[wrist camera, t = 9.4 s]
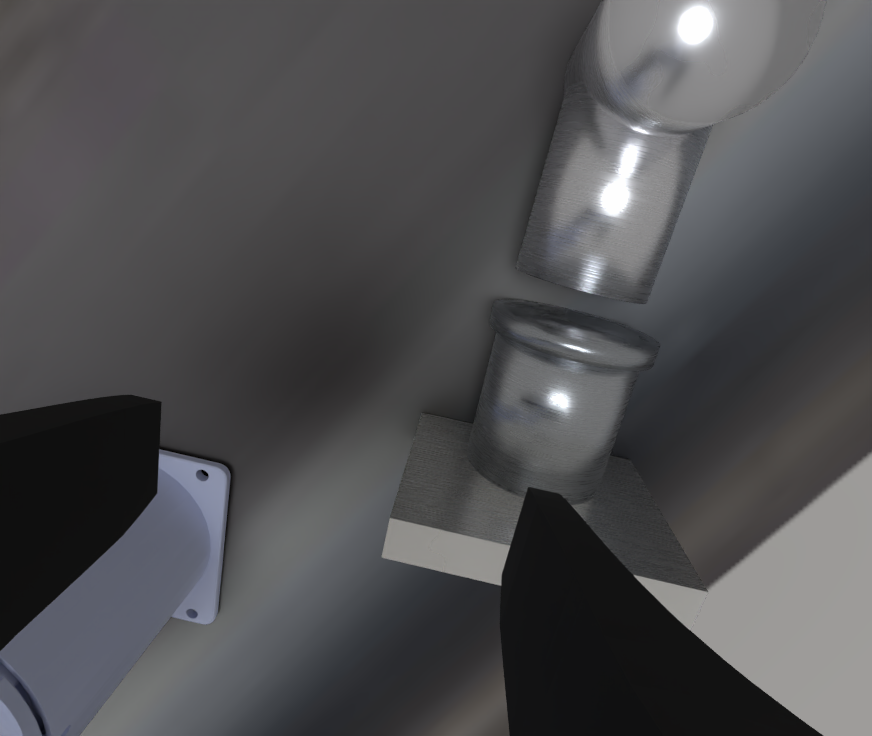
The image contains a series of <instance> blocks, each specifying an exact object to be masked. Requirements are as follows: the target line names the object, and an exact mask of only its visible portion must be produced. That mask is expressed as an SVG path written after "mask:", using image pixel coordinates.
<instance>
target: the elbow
mask: <svg viewBox="0 0 872 736" xmlns="http://www.w3.org/2000/svg"><path fill="white" fill-rule="evenodd" d="M825 6H826V0H602V1H601V3H600V5H599V7H598V8H597V10H596V12H595V14H594V15H593V17H592V19H591V21H590V22H589V24H588V26H587V28H586V30H585V31H584V33H583V35H582V37H581V38H580V40H579V42H578V44H577V45H576V47H575V49H574V51H573V53H572V55H571V57H570V60H569V63H568V65H567V69H566V73H565V78H564V99H563V103H562V106H561V110H560V113H559V117H558V120H557V124H556V127H555V131H554V134H553V138H552V141H551V145H550V148H549V152H548V155H547V159H546V162H545V166H544V169H543V173H542V176H541V180H540V183H539V187H538V190H537V194H536V197H535V201H534V204H533V208H532V211H531V215H530V218H529V222H528V225H527V229H526V232H525V236H524V240H523V243H522V247H521V250H520V254H519V257H518V261H517V264H516V269H518V270H520V271H522V272H524V273H526V274H529V275H531V276H534V277H537V278H540V279H543V280H546V281H549V282H552V283H555V284H558V285H562V286H565V287H569V288H572V289H576V290H579V291H583V292H587V293H591V294H595V295H599V296H603V297H607V298H611V299H616V300H621V301H626V302H632V303H639V304H646V303H647V301H648V298H649V295H650V293H651V290H652V287H653V285H654V282H655V279H656V277H657V274H658V271H659V268H660V266H661V263H662V260H663V258H664V255H665V252H666V250H667V247H668V244H669V242H670V239H671V236H672V234H673V231H674V228H675V226H676V223H677V220H678V217H679V215H680V212H681V209H682V207H683V204H684V201H685V199H686V196H687V193H688V191H689V188H690V185H691V183H692V180H693V177H694V175H695V172H696V169H697V166H698V164H699V161H700V158H701V156H702V153H703V150H704V148H705V145H706V142H707V140H708V137H709V134H710V132H711V129H712V126H713V124H716V123H719V122H721V121H724V120H727V119H729V118H732V117H735V116H737V115H740V114H743V113H745V112H747V111H748V110H750V109H752V108H754V107H756V106H758V105H759V104H761V103H762V102H764V101H765V100H767V99H768V98H769V97H771V96H772V95H773V94H774V93H775V92H776V91H778V90H779V89H780V88H781V87H782V86H783V85H784V84H785V83H786V82H787V81H788V80H789V79H790V78H791V76H792V75H793V74H794V73H795V71H796V70H797V69H798V67H799V66H800V65H801V63H802V62H803V60H804V59H805V57H806V55H807V54H808V52H809V50H810V49H811V46H812V44H813V42H814V40H815V38H816V36H817V34H818V31H819V28H820V25H821V22H822V19H823V15H824V11H825Z"/></svg>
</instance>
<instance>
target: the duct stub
mask: <svg viewBox="0 0 872 736" xmlns="http://www.w3.org/2000/svg"><path fill="white" fill-rule="evenodd" d="M489 325H490V326H491V328H493V329H494V330H495V331H496V336H495V340H494V344H493V348H492V352H491V355H490V359H489V363H488V367H487V371H486V375H485V379H484V383H483V387H482V391H481V395H480V399H479V403H478V407H477V411H476V415H475V419H474V423H473V424H471V423H467V422H462V421H458V420H454V419H449V418H445V417H441V416H436V415H432V414H427V413H423V412H422V414H421V417H420V421H419V424H418V427H417V431H416V434H415V437H414V440H413V444H412V447H411V450H410V453H409V457H408V460H407V463H406V467H405V470H404V473H403V476H402V480H401V483H400V486H399V490H398V493H397V496H396V499H395V503H394V506H393V509H392V513H391V516H390V520H389V524H388V529H387V534H386V539H385V544H384V548H383V553H382V558H386V559H390V560H394V561H399V562H403V563H407V564H411V565H416V566H420V567H424V568H428V569H433V570H437V571H441V572H445V573H450V574H454V575H458V576H462V577H467V578H471V579H475V580H479V581H484V582H488V583H492V584H496V585H501V579H502V572H503V568H504V565H505V562H506V558H507V555H508V552H509V548H510V545H511V542H512V538H513V535H514V532H515V528H516V525H517V522H518V518H519V515H520V512H521V508H522V505H523V502H524V498H525V495H526V492H527V488H528V487H533V488H537V489H541V490H546V491H550V492H554V493H559V494H561V495H562V496H563V497H564V498H565V499H566V500H567V501H568V502H569V504H570V505H571V506H572V507H573V508H574V509H575V510H576V511H577V513H578V514H579V515H580V516H581V517H582V518H583V520H584V521H585V522H586V523H587V524H588V525H589V527H590V528H591V529H592V530H593V531H594V532H595V533H596V535H597V536H598V537H599V538H600V539H601V540H602V541H603V543H604V544H605V545H606V546H607V547H608V548H609V549H610V550H611V552H612V553H613V554H614V555H615V556H616V557H617V558H618V559H619V560H620V562H621V563H622V564H623V565H624V566H625V567H626V568H627V569H628V570H629V571H630V572H631V573H632V574H633V575H634V576H635V578H636V579H637V580H638V581H639V582H640V583H641V584H642V585H643V586H644V587H645V588H646V589H647V590H648V591H649V592H650V593H651V594H652V595H653V596H654V597H655V598H656V599H657V600H658V601H659V602H660V603H661V604H662V605H663V606H664V607H665V608H666V609H667V610H668V611H669V612H670V613H672V614H673V615H674V616H675V617H676V618H677V619H678V620H679V621H680V622H681V623H682V624H683V625H684V626H686V627H687V628H688V629H689V630H691V629H692V627H693V625H694V622H695V620H696V618H697V616H698V614H699V611H700V610H701V607H702V605H703V603H704V601H705V599H706V596H707V594H708V591H707V589H706V587H705V586H704V584H703V582H702V581H701V579H700V577H699V576H698V574H697V572H696V571H695V569H694V567H693V565H692V564H691V562H690V560H689V559H688V557H687V555H686V554H685V552H684V550H683V549H682V547H681V545H680V543H679V542H678V540H677V538H676V537H675V535H674V533H673V532H672V530H671V528H670V527H669V525H668V523H667V522H666V520H665V518H664V516H663V515H662V513H661V511H660V510H659V508H658V506H657V505H656V503H655V501H654V500H653V498H652V496H651V495H650V493H649V491H648V489H647V488H646V486H645V484H644V483H643V481H642V479H641V478H640V476H639V474H638V473H637V471H636V469H635V467H634V466H633V464H632V462H631V461H630V460H629V459H624V458H620V457H616V456H611V455H610V454H611V451H612V448H613V445H614V442H615V440H616V437H617V434H618V431H619V428H620V425H621V422H622V420H623V417H624V414H625V411H626V408H627V405H628V402H629V400H630V397H631V394H632V391H633V388H634V385H635V382H636V380H637V377H638V374H639V371H643V370H648V369H650V368H652V367H653V365H654V362H655V359H656V356H657V354H658V351H659V348H660V344H659V342H657V341H656V340H655V339H653V338H652V337H650V336H648V335H647V334H644V333H642V332H640V331H638V330H636V329H633V328H631V327H628V326H625V325H623V324H620V323H617V322H614V321H611V320H608V319H605V318H602V317H598V316H595V315H591V314H588V313H584V312H580V311H576V310H572V309H567V308H563V307H558V306H554V305H549V304H544V303H538V302H532V301H524V300H513V299H502V300H497V301H495V302H494V304H493V308H492V312H491V316H490V320H489Z"/></svg>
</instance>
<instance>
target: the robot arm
mask: <svg viewBox="0 0 872 736" xmlns="http://www.w3.org/2000/svg"><path fill="white" fill-rule="evenodd" d="M160 421H161V402H160V401H155V400H151V399H147V398H142V397H138V396H134V395H119V396H109V397H101V398H94V399H88V400H82V401H75V402H70V403H64V404H58V405H53V406H47V407H41V408H36V409H30V410H25V411H19V412H13V413H8V414H2V415H0V736H79V735H80V734H81V733H82V732H83V730H84V729H85V728H86V726H87V725H88V724H89V722H90V721H91V720H92V719H93V717H94V716H95V715H96V713H97V712H98V711H99V710H100V708H101V707H102V706H103V704H104V703H105V702H106V700H107V699H108V698H109V697H110V695H111V694H112V693H113V691H114V690H115V689H116V687H117V686H118V685H119V684H120V682H121V681H122V680H123V678H124V677H125V676H126V674H127V673H128V672H129V671H130V669H131V668H132V667H133V665H134V664H135V663H136V662H137V660H138V659H139V658H140V656H141V655H142V654H143V652H144V651H145V650H146V649H147V647H148V646H149V645H150V643H151V642H152V641H153V639H154V638H155V637H156V636H157V634H158V633H159V632H160V630H161V629H162V628H163V626H164V625H165V624H166V623H167V621H168V620H169V619H170V617H174V618H178V619H183V620H187V621H191V622H195V623H199V624H206V625H207V624H211V623H212V622H213V621H214V619H215V618H216V616H217V614H218V606H219V595H220V585H221V574H222V563H223V553H224V542H225V531H226V521H227V510H228V499H229V489H230V478H231V476H230V471H229V470H228V468H227V467H226V466H225V465H223V464H220V463H217V462H212V461H208V460H204V459H199V458H195V457H191V456H187V455H182V454H178V453H174V452H169V451H165V450H161V449H159V444H160ZM201 470H205V471H206V472H207V473H208V476H205V475H203V473H202V472H201ZM193 609H194V610H196V611H194V610H193ZM500 632H501V644H502V656H503V667H504V678H505V689H506V700H507V711H508V721H509V732H510V736H823V735H822V734H820V733H819V732H817V731H816V730H815V729H813V728H812V727H810V726H809V725H807V724H806V723H805V722H803V721H802V720H801V719H799V718H798V717H797V716H795V715H794V714H793V713H791V712H790V711H789V710H788V709H786V708H785V707H784V706H782V705H781V704H780V703H778V702H777V701H775V700H774V699H773V698H772V697H770V696H769V695H768V694H766V693H765V692H764V691H762V690H761V689H760V688H759V687H757V686H756V685H754V684H753V683H752V682H751V681H749V680H748V679H747V678H746V677H744V676H743V675H742V674H741V673H739V672H738V671H737V670H735V668H733V667H732V666H731V665H730V664H728V663H727V662H726V661H725V660H723V659H722V658H721V657H720V656H719V655H718V654H716V653H715V652H714V651H713V650H712V649H711V648H710V647H709V646H707V645H706V644H705V643H704V642H703V641H702V640H701V639H699V638H698V637H697V636H696V635H695V634H694V633H692V632H691V631H690V630H689V629H688V628H687V627H686V626H684V625H683V624H682V623H681V622H680V621H679V620H678V619H677V618H676V617H675V616H674V615H673V614H672V613H670V612H669V611H668V610H667V609H666V608H665V607H664V606H663V605H662V604H661V603H660V602H659V601H658V600H657V599H656V598H655V597H654V596H653V595H652V594H651V593H650V592H649V591H648V590H647V589H646V588H645V587H644V586H643V585H642V584H641V583H640V582H639V581H638V580H637V579H636V578H635V576H634V575H633V574H632V573H631V572H630V571H629V570H628V569H627V568H626V567H625V566H624V565H623V564H622V563H621V562H620V560H619V559H618V558H617V557H616V556H615V555H614V554H613V553H612V552H611V550H610V549H609V548H608V547H607V546H606V545H605V544H604V543H603V541H602V540H601V539H600V538H599V537H598V536H597V535H596V533H595V532H594V531H593V530H592V529H591V528H590V527H589V525H588V524H587V523H586V522H585V521H584V520H583V518H582V517H581V516H580V515H579V514H578V513H577V511H576V510H575V509H574V508H573V507H572V506H571V505H570V504H569V502H568V501H567V500H566V499H565V498H564V497H563V496H562V495H561V494H559V493H554V492H550V491H546V490H541V489H537V488H533V487H528V488H527V492H526V495H525V498H524V502H523V505H522V508H521V512H520V515H519V518H518V522H517V525H516V528H515V532H514V535H513V538H512V542H511V545H510V548H509V552H508V555H507V558H506V562H505V565H504V568H503V572H502V579H501V603H500Z"/></svg>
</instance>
